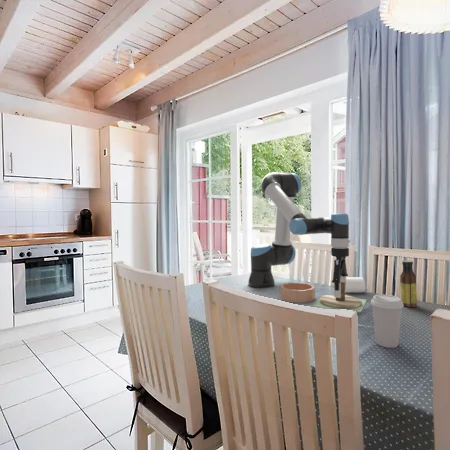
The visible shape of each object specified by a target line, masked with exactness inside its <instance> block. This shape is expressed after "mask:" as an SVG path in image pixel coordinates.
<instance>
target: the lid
mask: <svg viewBox="0 0 450 450" xmlns="http://www.w3.org/2000/svg"><path fill="white" fill-rule="evenodd" d="M340 283H341V298H336V297H334V294H324V295H325V296H322V295H321V296H322V297H321V296H320V297H321V298H320V297H319V298H320V303H321V304H323V305H325V306H328V307H333V308H340V309H352V308H357V307H360V306H361V305H362V301H361V300H360V299H361V298H358V297H356V296H351V295H346V293H345V283H344V282H340ZM333 308H332V309H333ZM340 309H339V310H340Z"/></svg>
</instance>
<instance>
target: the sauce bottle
mask: <svg viewBox="0 0 450 450" xmlns="http://www.w3.org/2000/svg"><path fill="white" fill-rule="evenodd" d="M401 264H402V272H401V273H400V276H399V278H400V279H399V281H400V282H399V284H400V285H399V289H400V299H401V301H402V302H403V305H404V307H405V306H407V307H406V308H408V307H409V308H417V306H418V290H417V287H418V285H417V275H416V274H415V273H414V271H413V269H414V268H413V265H414V262H413V260H402V263H401Z"/></svg>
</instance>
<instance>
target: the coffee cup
mask: <svg viewBox="0 0 450 450" xmlns="http://www.w3.org/2000/svg"><path fill="white" fill-rule="evenodd" d="M370 304H371V305H372V316H373V317H372V318H373V328H374V337H375V339H374V340H375V344H377V345H378V346H380V347H382V348H391V349H392V348H394V349H395V348H397V347H398V346H399V342H400V341H399V340H400V330H401V320H402V311H403V308H404V307H405V306H404V305H403V302H402V301H401V297H399V296H396V295H393V294H392V295H391V294H375V295H373V296H372V298H371V300H370Z"/></svg>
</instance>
